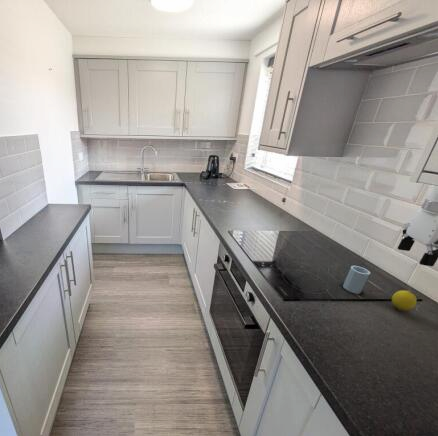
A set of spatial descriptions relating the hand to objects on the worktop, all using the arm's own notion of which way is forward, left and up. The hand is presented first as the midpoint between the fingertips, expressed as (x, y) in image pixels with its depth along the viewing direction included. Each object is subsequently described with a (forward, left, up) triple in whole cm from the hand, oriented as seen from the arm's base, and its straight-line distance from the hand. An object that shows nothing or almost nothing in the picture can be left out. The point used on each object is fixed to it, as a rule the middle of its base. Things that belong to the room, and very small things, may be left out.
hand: (413, 257), depth 75 cm
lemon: (-3, +1, -20) cm, 21 cm away
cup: (+8, -7, -20) cm, 23 cm away
